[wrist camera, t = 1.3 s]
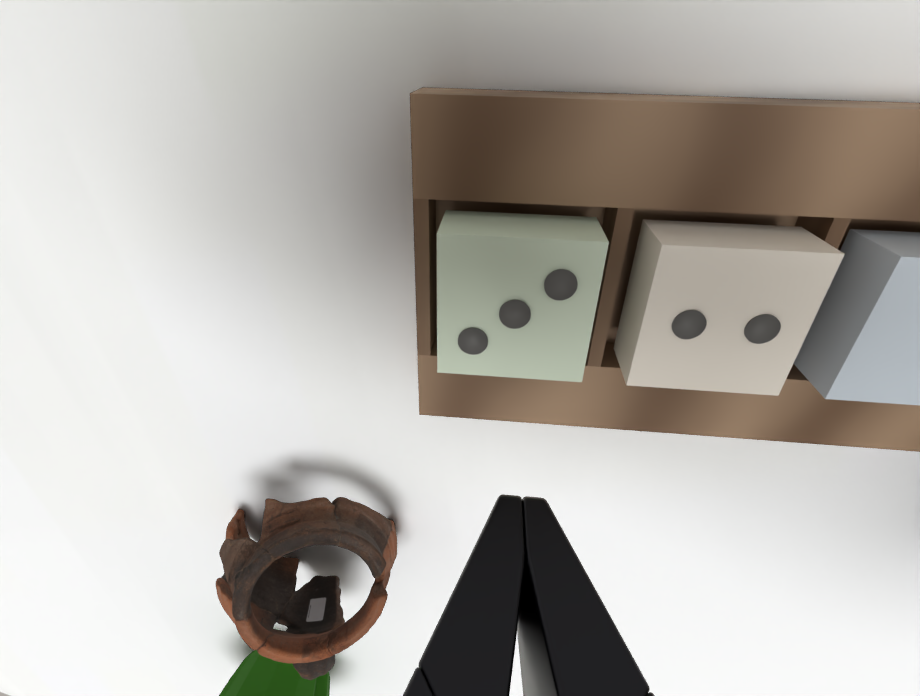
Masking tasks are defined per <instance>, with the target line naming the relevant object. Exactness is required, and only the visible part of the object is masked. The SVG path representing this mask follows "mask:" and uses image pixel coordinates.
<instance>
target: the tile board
mask: <svg viewBox="0 0 920 696" xmlns="http://www.w3.org/2000/svg"><path fill="white" fill-rule="evenodd" d="M410 116H411V149H412V183H413V216H414V249H415V283H416V316H417V349H418V383H419V415H432V416H446V417H459V418H473V419H486V420H500V421H513V422H527V423H540V424H554V425H567V426H581V427H594V428H608V429H622V430H635V431H649V432H662V433H676V434H689V435H703V436H716V437H730V438H743V439H757V440H770V441H784V442H797V443H811V444H824V445H838V446H851V447H865V448H878V449H892V450H905V451H919V452H920V405H906V404H891V403H877V402H862V401H847V400H833V399H825V398H824V397H823V396H822V395H821V394H820V393H819V392H818V391H817V389H816V388H815V387H814V386H813V385H812V384H811V383H810V382H809V380H808V379H807V378H806V377H805V376H804V375H803V374H802V373H801V371H800V370H799V369H798V368H797V367H796V366H795V365H794V364H793V365H792V368H791V370H790V372H789V374H788V376H787V378H786V380H785V383H784V385H783V387H782V389H781V391H780V393H779V395H778V396H774V395H760V394H745V393H730V392H716V391H701V390H686V389H672V388H657V387H642V386H628V385H626V383H625V380H624V377H623V374H622V371H621V368H620V365H619V362H618V359H617V357H616V354H615V351H614V344H615V340H616V336H617V331H618V327H619V322H620V318H621V313H622V309H623V304H624V300H625V296H626V291H627V287H628V282H629V278H630V273H631V269H632V265H633V260H634V256H635V251H636V247H637V242H638V238H639V234H640V229H641V225H642V220H643V219H646V220H668V221H689V222H710V223H732V224H753V225H774V226H795V227H802V228H804V229H806V230H807V231H809V232H810V233H812V234H814V235H815V236H817V237H818V238H820V239H822V240H823V241H825V242H826V243H828V244H830V245H831V246H833V247H834V248H836V249H838V250H839V251H840V249H841V247H842V245H843V243H844V241H845V239H846V236H847V234H848V232H849V230H850V229H859V230H880V231H902V232H920V103H907V102H875V101H843V100H811V99H779V98H747V97H715V96H682V95H650V94H618V93H586V92H554V91H522V90H490V89H458V88H425V87H422V88H420V89H418V90H416V91H414V92H412V93H410ZM446 210H455V211H476V212H498V213H519V214H540V215H561V216H583V217H597V219H598V221H599V223H600V225H601V227H602V229H603V231H604V233H605V235H606V237H607V239H608V241H609V245H608V250H607V255H606V260H605V265H604V270H603V276H602V281H601V286H600V291H599V296H598V302H597V307H596V312H595V317H594V322H593V328H592V333H591V338H590V343H589V348H588V353H587V359H586V364H585V369H584V374H583V379H582V382H569V381H555V380H540V379H525V378H511V377H496V376H481V375H467V374H452V373H437V231H438V229H439V226H440V224H441V221H442V219H443V216H444V214H445V211H446Z"/></svg>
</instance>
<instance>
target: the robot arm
mask: <svg viewBox="0 0 920 696" xmlns="http://www.w3.org/2000/svg"><path fill="white" fill-rule="evenodd" d="M517 632H518V644H519V654H520V664H521V675H522V685H523V696H654V694H653V693H651V692H649V686H648V684H647V682H646V680H645V678H644V677H643V675H642V673H641V671H640V669H639V667H638V666H637V664H636V662H635V660H634V658H633V657H632V655H631V653H630V651H629V649H628V648H627V646H626V644H625V642H624V640H623V638H622V637H621V635H620V633H619V631H618V629H617V628H616V626H615V624H614V622H613V620H612V619H611V617H610V615H609V613H608V611H607V609H606V608H605V606H604V604H603V602H602V600H601V599H600V597H599V595H598V593H597V591H596V590H595V588H594V586H593V584H592V582H591V580H590V579H589V577H588V575H587V573H586V571H585V570H584V568H583V566H582V564H581V562H580V560H579V559H578V557H577V555H576V553H575V551H574V550H573V548H572V546H571V544H570V542H569V541H568V539H567V537H566V535H565V533H564V531H563V530H562V528H561V526H560V524H559V522H558V521H557V519H556V517H555V515H554V513H553V512H552V510H551V508H550V506H549V504H548V503H547V501H546V500H545V499H544V498H538V497H524V498H523V499H521V497H520V496H513V495H500V496H499V497H498V499H497V501H496V503H495V505H494V507H493V509H492V511H491V514H490V516H489V518H488V520H487V522H486V524H485V526H484V528H483V530H482V532H481V534H480V536H479V539H478V541H477V543H476V545H475V547H474V549H473V551H472V553H471V555H470V557H469V559H468V562H467V564H466V566H465V568H464V570H463V572H462V574H461V576H460V578H459V580H458V582H457V584H456V587H455V589H454V591H453V593H452V595H451V597H450V599H449V601H448V603H447V605H446V607H445V610H444V612H443V614H442V616H441V618H440V620H439V622H438V624H437V626H436V628H435V630H434V632H433V635H432V637H431V639H430V641H429V643H428V645H427V647H426V649H425V651H424V653H423V655H422V658H421V660H420V662H419V668H416V669H415V671H414V674H413V676H412V678H411V680H410V682H409V684H408V686H407V688H406V690H405V692H404V694H403V696H509V691H510V683H511V675H512V667H513V658H514V650H515V642H516V634H517ZM648 692H649V693H648Z"/></svg>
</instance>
